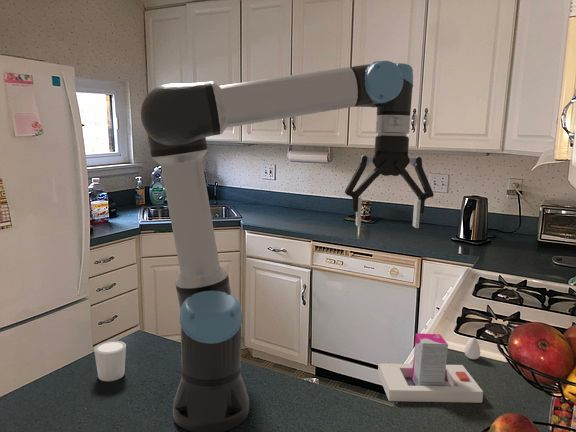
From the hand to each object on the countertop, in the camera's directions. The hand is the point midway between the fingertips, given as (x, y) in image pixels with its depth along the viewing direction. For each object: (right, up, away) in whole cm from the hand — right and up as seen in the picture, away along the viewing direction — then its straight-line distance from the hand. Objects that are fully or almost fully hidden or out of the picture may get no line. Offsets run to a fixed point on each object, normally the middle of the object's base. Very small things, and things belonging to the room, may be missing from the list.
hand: (386, 226), depth 112 cm
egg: (+24, -34, +10) cm, 43 cm away
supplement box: (+8, -36, -5) cm, 37 cm away
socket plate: (+8, -36, -5) cm, 37 cm away
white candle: (-64, -34, -3) cm, 73 cm away
